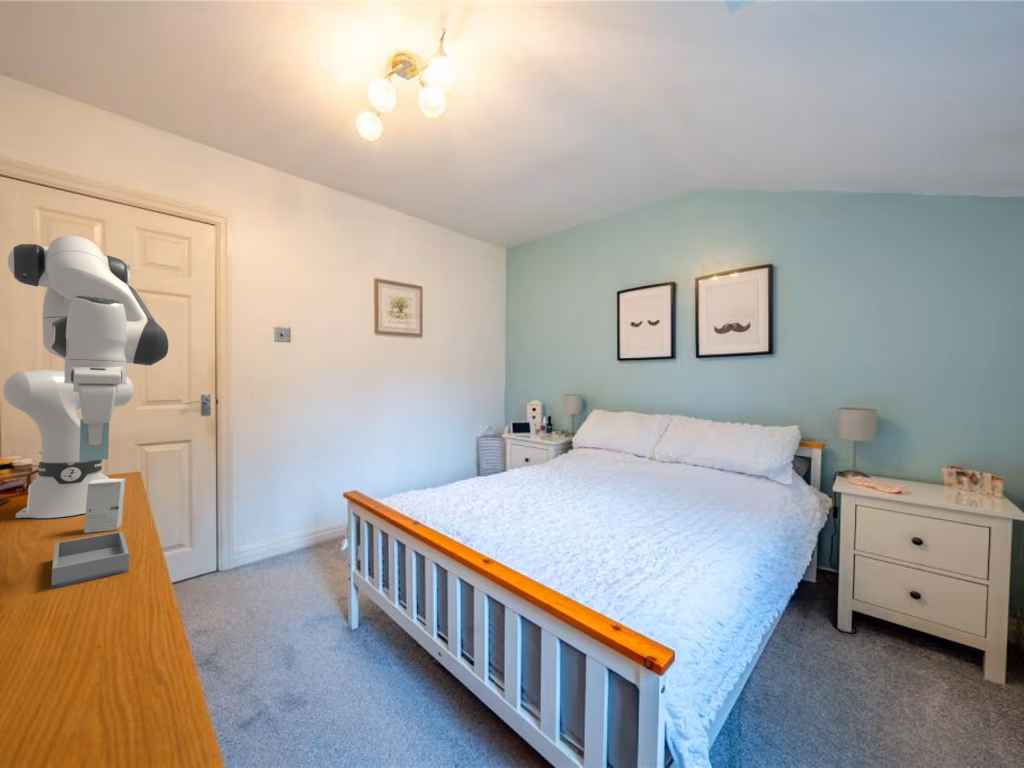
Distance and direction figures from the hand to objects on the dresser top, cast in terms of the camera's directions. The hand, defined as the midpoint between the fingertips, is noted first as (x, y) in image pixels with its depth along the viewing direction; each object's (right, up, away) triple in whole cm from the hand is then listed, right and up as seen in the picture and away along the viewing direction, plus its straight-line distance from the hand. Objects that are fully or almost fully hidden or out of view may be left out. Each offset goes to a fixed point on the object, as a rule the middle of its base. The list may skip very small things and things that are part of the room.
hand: (94, 443), depth 82 cm
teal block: (0, -3, 0) cm, 3 cm away
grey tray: (0, -24, -1) cm, 24 cm away
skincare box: (-16, -24, +18) cm, 34 cm away
